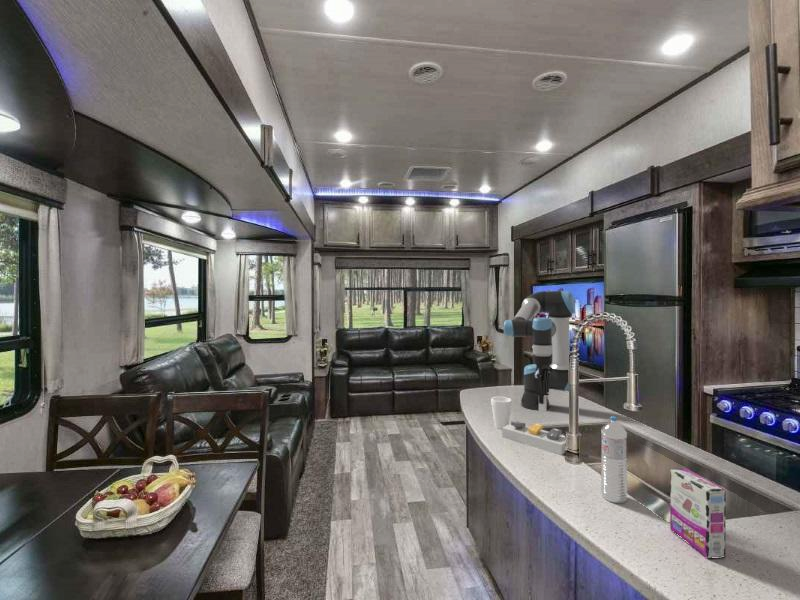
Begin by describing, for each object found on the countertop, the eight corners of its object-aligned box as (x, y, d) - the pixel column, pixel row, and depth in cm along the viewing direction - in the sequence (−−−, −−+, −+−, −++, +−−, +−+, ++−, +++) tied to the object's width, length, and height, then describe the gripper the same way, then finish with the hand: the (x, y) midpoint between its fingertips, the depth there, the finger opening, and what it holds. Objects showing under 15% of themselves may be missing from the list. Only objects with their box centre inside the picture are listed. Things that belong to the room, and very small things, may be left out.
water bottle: (626, 506, 108) (626, 422, 108) (600, 500, 112) (600, 418, 112) (627, 496, 114) (627, 415, 114) (601, 490, 118) (601, 412, 117)
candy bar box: (727, 558, 87) (727, 489, 87) (707, 560, 86) (707, 490, 86) (686, 528, 98) (686, 467, 98) (669, 530, 98) (669, 468, 97)
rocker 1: (517, 424, 165) (518, 421, 166) (525, 426, 163) (525, 423, 163) (510, 425, 161) (511, 421, 161) (518, 427, 159) (518, 423, 159)
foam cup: (509, 423, 179) (509, 396, 179) (513, 430, 170) (513, 402, 170) (489, 422, 180) (489, 396, 180) (492, 429, 171) (492, 402, 171)
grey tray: (513, 430, 169) (513, 420, 169) (592, 453, 145) (592, 441, 144) (502, 436, 162) (502, 426, 162) (583, 461, 138) (582, 449, 138)
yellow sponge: (535, 426, 160) (534, 423, 159) (543, 428, 157) (542, 425, 157) (528, 432, 156) (528, 429, 155) (536, 434, 153) (536, 431, 153)
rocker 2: (553, 430, 154) (552, 427, 154) (561, 433, 151) (561, 429, 151) (546, 437, 150) (546, 434, 150) (555, 440, 147) (555, 436, 147)
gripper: (540, 351, 161) (540, 405, 162) (526, 355, 152) (526, 412, 152) (557, 353, 156) (557, 409, 156) (544, 357, 147) (544, 416, 147)
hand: (542, 410), depth 154 cm, fingers closed
